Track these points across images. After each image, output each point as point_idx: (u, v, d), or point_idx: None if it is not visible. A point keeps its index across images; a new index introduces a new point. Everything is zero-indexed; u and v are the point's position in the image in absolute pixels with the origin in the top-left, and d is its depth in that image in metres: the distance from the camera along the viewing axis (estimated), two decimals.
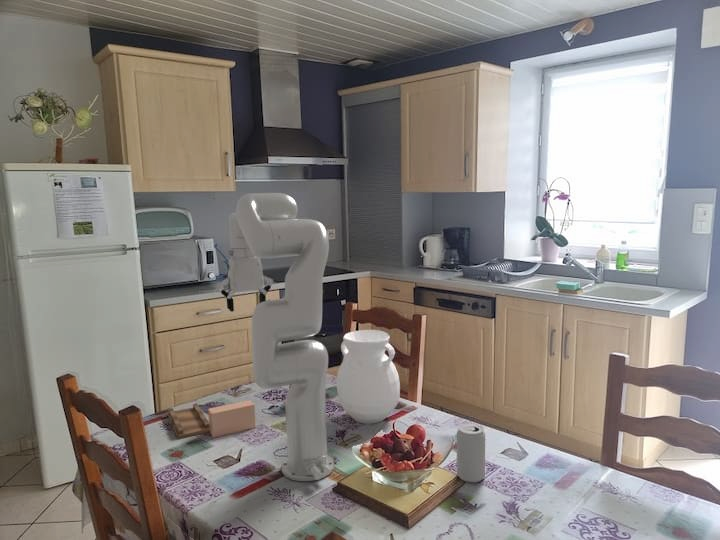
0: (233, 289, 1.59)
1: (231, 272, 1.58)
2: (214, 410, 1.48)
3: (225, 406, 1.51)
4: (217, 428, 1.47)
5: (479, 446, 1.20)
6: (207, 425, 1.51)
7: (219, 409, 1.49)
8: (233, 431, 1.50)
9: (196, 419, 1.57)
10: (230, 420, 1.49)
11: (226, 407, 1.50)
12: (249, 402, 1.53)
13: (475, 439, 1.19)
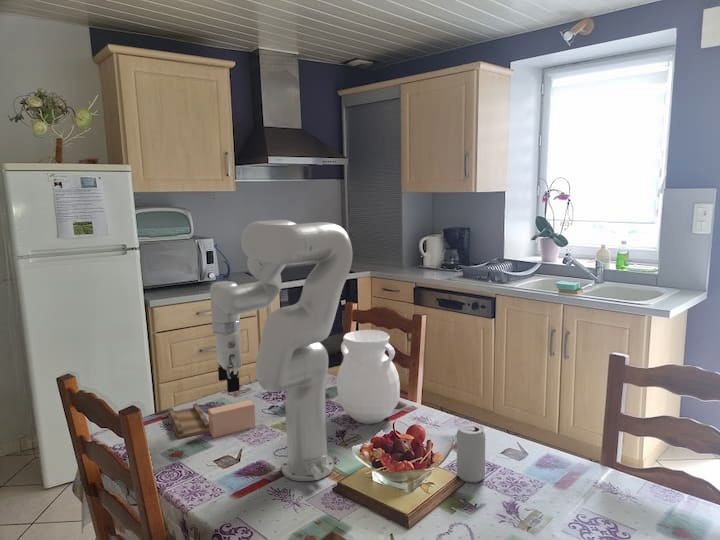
0: (241, 365, 1.46)
1: (239, 347, 1.45)
2: (214, 410, 1.48)
3: (225, 406, 1.51)
4: (217, 428, 1.47)
5: (479, 446, 1.20)
6: (207, 425, 1.51)
7: (219, 409, 1.49)
8: (233, 431, 1.50)
9: (196, 419, 1.57)
10: (230, 420, 1.49)
11: (226, 407, 1.50)
12: (249, 402, 1.54)
13: (475, 439, 1.19)
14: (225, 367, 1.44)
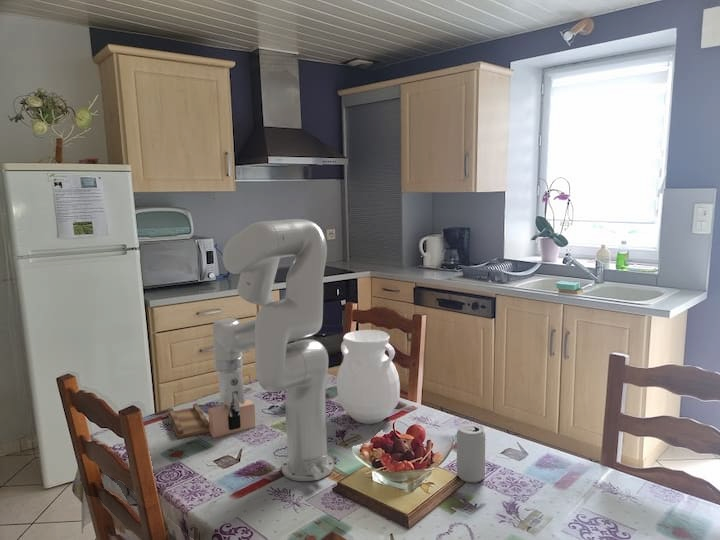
0: (244, 401, 1.48)
1: (241, 384, 1.47)
2: (214, 410, 1.48)
3: (225, 406, 1.51)
4: (218, 428, 1.47)
5: (479, 446, 1.20)
6: (207, 425, 1.51)
7: (219, 409, 1.49)
8: (233, 430, 1.50)
9: (196, 419, 1.57)
10: None
11: (226, 407, 1.50)
12: (249, 401, 1.54)
13: (475, 439, 1.19)
14: (228, 404, 1.46)
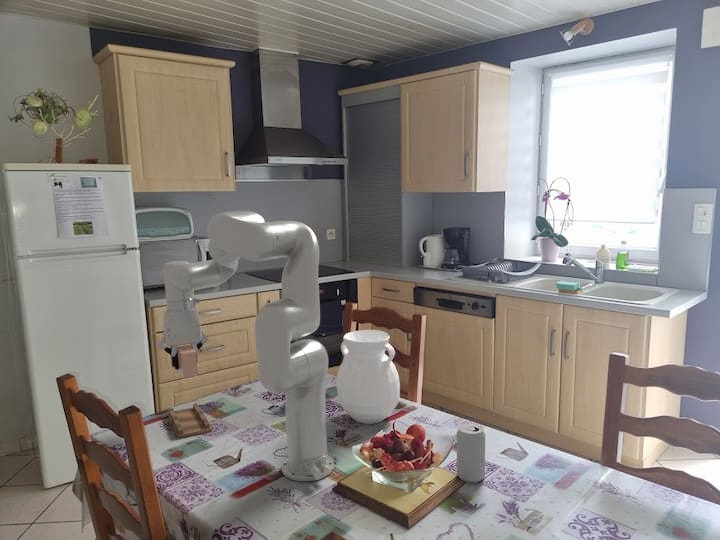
0: None
1: None
2: (188, 351, 1.49)
3: (181, 349, 1.52)
4: None
5: (479, 446, 1.20)
6: (207, 425, 1.51)
7: (187, 350, 1.51)
8: None
9: (196, 419, 1.57)
10: None
11: (184, 348, 1.52)
12: None
13: (475, 439, 1.19)
14: (200, 338, 1.53)
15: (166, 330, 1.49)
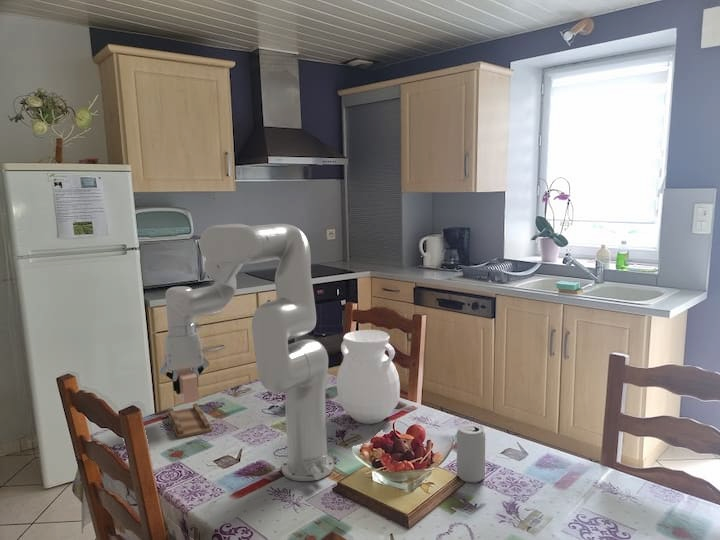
0: None
1: None
2: (189, 376, 1.50)
3: (183, 373, 1.53)
4: None
5: (479, 446, 1.20)
6: (207, 425, 1.51)
7: (188, 375, 1.52)
8: None
9: (196, 419, 1.57)
10: None
11: (185, 373, 1.53)
12: None
13: (475, 439, 1.19)
14: (202, 363, 1.55)
15: (167, 355, 1.50)
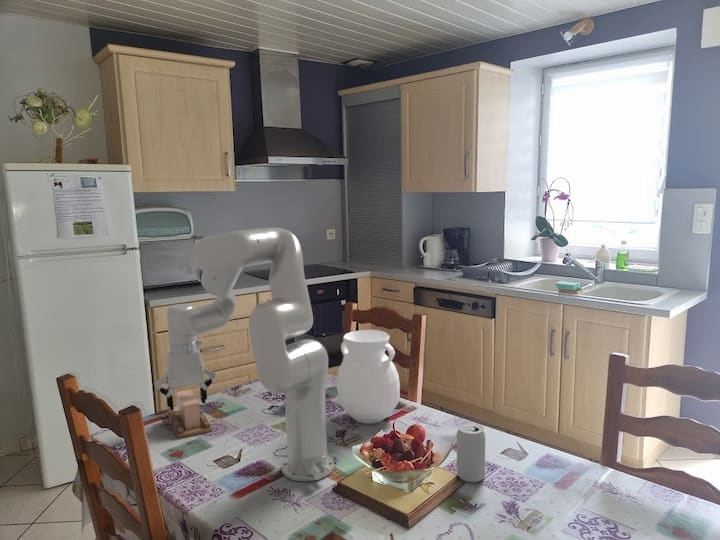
0: None
1: None
2: (191, 402, 1.51)
3: (185, 399, 1.54)
4: None
5: (479, 446, 1.20)
6: (207, 425, 1.51)
7: (190, 400, 1.53)
8: None
9: None
10: None
11: (187, 398, 1.54)
12: (183, 391, 1.60)
13: (475, 439, 1.19)
14: (203, 380, 1.55)
15: (169, 373, 1.50)
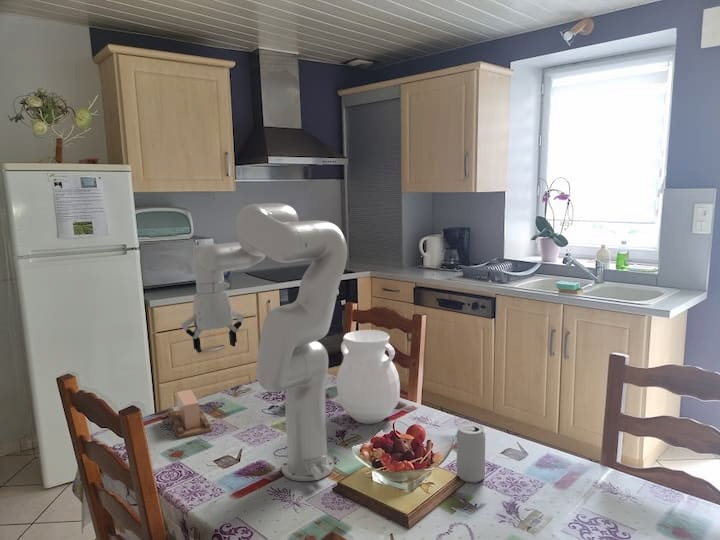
0: None
1: None
2: (191, 402, 1.51)
3: (185, 399, 1.54)
4: None
5: (479, 446, 1.20)
6: (207, 425, 1.51)
7: (190, 400, 1.53)
8: None
9: None
10: None
11: (187, 398, 1.54)
12: (183, 391, 1.60)
13: (475, 439, 1.19)
14: (231, 322, 1.50)
15: (197, 314, 1.46)
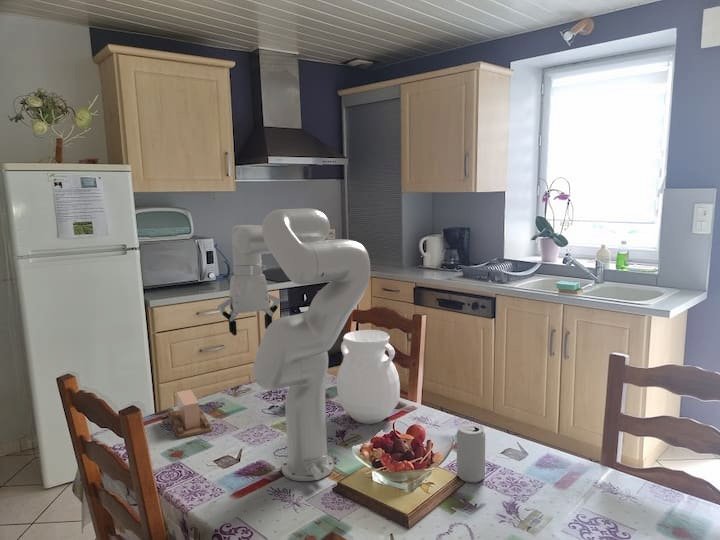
0: None
1: None
2: (191, 402, 1.51)
3: (185, 399, 1.54)
4: None
5: (479, 446, 1.20)
6: (207, 425, 1.51)
7: (190, 400, 1.53)
8: None
9: None
10: None
11: (187, 398, 1.54)
12: (183, 391, 1.60)
13: (475, 439, 1.19)
14: (268, 306, 1.47)
15: (234, 296, 1.42)
